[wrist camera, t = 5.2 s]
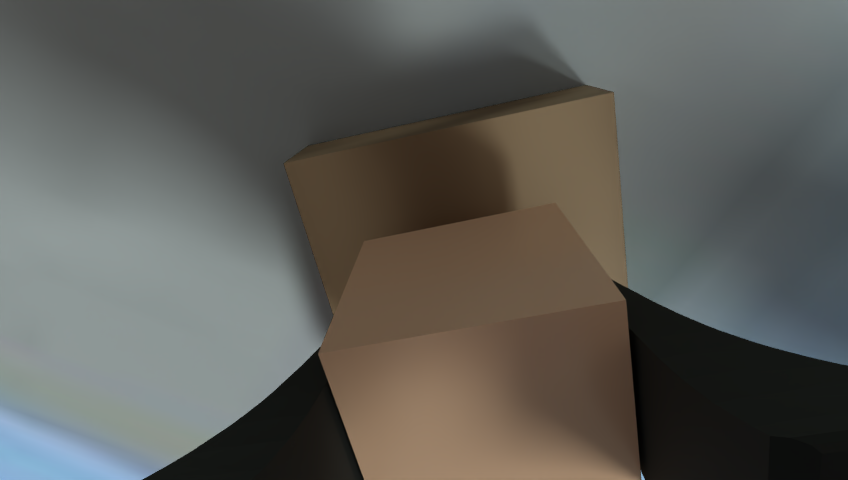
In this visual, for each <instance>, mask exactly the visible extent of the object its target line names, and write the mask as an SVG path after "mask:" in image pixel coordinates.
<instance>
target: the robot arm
mask: <svg viewBox="0 0 848 480" xmlns="http://www.w3.org/2000/svg"><path fill="white" fill-rule="evenodd" d="M611 280H612V279H611ZM612 281H613V283H614V284H615V285H616V287H617V288H618V289H619V291H620V292H621V294H622V295H623V296H624V298H625V299H626V305H627V317H628V329H629V341H630V352H631V364H632V376H633V388H634V400H635V411H636V423H637V435H638V447H639V459H640V470H641V472H642V474H643V476H644V478H645V480H848V366H847V365H841V364H837V363H832V362H828V361H823V360H819V359H814V358H810V357H806V356H802V355H798V354H795V353H791V352H787V351H783V350H779V349H775V348H772V347H768V346H765V345H762V344H758V343H755V342H752V341H749V340H746V339H743V338H740V337H737V336H734V335H731V334H728V333H725V332H722V331H719V330H717V329H714V328H712V327H709V326H706V325H704V324H701V323H699V322H697V321H694V320H692V319H690V318H687V317H685V316H683V315H680V314H678V313H676V312H674V311H672V310H670V309H668V308H665V307H663V306H661V305H659V304H657V303H655V302H653V301H651V300H649V299H647V298H645V297H643V296H642V295H640V294H638V293H636V292H634V291H632V290H630V289H628V288H627V287H625V286H623V285H621V284H619V283H617V282H616V281H614V280H612ZM320 348H321V347H320ZM320 348H319V349H318V350H317V351H316V352H315V353H314V354H313V355H312V356H311V357H310V358H309V359H308V360H307V361H306V362H305V363H304V364H303V365H302V366H301V367H300V368H299V369H298V370H296V371H295V372H294V373H293V374H292V375H291V376H290V377H289V378H288V379H287V380H286V381H285V382H283V383H282V384H281V385H280V386H279V387H278V388H277V389H276V390H275V391H274V392H273V393H271V394H270V395H269V396H268V397H267V398H265V399H264V400H263V401H262V402H261V403H259V404H258V405H257V406H256V407H254V408H253V409H252V410H250V411H249V412H248V413H247V414H245V415H244V416H243V417H241V418H240V419H239V420H237V421H236V422H235V423H233V424H232V425H230V426H229V427H228V428H226V429H225V430H223V431H222V432H220V433H219V434H217V435H216V436H214V437H213V438H211V439H210V440H208V441H207V442H205V443H204V444H202V445H200V446H199V447H197V448H196V449H194V450H193V451H191V452H190V453H188V454H186V455H185V456H183V457H181V458H180V459H178V460H176V461H175V462H173V463H171V464H170V465H168V466H166V467H164V468H163V469H161V470H159V471H157V472H155V473H154V474H152V475H150V476H148V477H146V478H144V479H143V480H364V478H363V475H362V473H361V470H360V467H359V464H358V462H357V459H356V456H355V453H354V451H353V448H352V445H351V442H350V440H349V437H348V434H347V432H346V429H345V426H344V423H343V421H342V418H341V415H340V412H339V410H338V407H337V404H336V402H335V399H334V396H333V393H332V391H331V388H330V385H329V382H328V380H327V377H326V374H325V371H324V369H323V366H322V363H321V361H320V358H319V355H318V353H319V350H320Z"/></svg>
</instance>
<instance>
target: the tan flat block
mask: <svg viewBox="0 0 848 480" xmlns="http://www.w3.org/2000/svg"><path fill="white" fill-rule="evenodd" d="M284 167H285V170H286V173H287V176H288V179H289V182H290V185H291V188H292V191H293V194H294V197H295V200H296V203H297V206H298V209H299V212H300V215H301V218H302V221H303V224H304V227H305V230H306V233H307V236H308V239H309V243H310V246H311V249H312V252H313V255H314V258H315V261H316V264H317V267H318V270H319V273H320V276H321V279H322V282H323V285H324V288H325V291H326V294H327V297H328V300H329V303H330V306H331V309H332V312H333V316H334V314H335V311H336V309H337V306H338V304H339V301H340V299H341V296H342V294H343V291H344V289H345V287H346V284H347V282H348V279H349V277H350V274H351V272H352V269H353V267H354V265H355V262H356V260H357V257H358V255H359V252H360V250H361V247H362V245H363V242H364V241H367V240H372V239H377V238H382V237H387V236H392V235H397V234H402V233H407V232H412V231H417V230H422V229H427V228H432V227H437V226H442V225H447V224H452V223H457V222H462V221H467V220H472V219H477V218H481V217H486V216H491V215H496V214H501V213H506V212H511V211H516V210H521V209H526V208H531V207H536V206H541V205H546V204H551V203H556V204H557V206H558V207H559V208H560V210H561V211H562V212H563V214H564V215H565V217H566V218H567V219H568V221H569V222H570V223H571V225H572V226H573V228H574V229H575V230H576V232H577V233H578V234H579V236H580V237H581V239H582V240H583V241H584V243H585V244H586V245H587V247H588V248H589V250H590V251H591V252H592V254H593V255H594V256H595V258H596V259H597V261H598V262H599V263H600V265H601V266H602V267H603V269H604V270H605V272H606V273H607V274H608V276H609V277H610V278H611V279H612V280H614V281H616V282H617V283H619V284H621V285H623V286H625V287H627V288H628V282H627V269H626V255H625V241H624V227H623V213H622V199H621V185H620V171H619V158H618V144H617V130H616V116H615V102H614V92H611V91H607V90H603V89H600V88H596V87H592V86H588V85H583V86H579V87H574V88H570V89H565V90H561V91H556V92H552V93H547V94H542V95H538V96H533V97H529V98H524V99H520V100H515V101H510V102H506V103H501V104H497V105H492V106H488V107H483V108H478V109H474V110H469V111H465V112H460V113H456V114H451V115H447V116H442V117H437V118H433V119H428V120H424V121H419V122H415V123H410V124H405V125H401V126H396V127H392V128H387V129H383V130H378V131H373V132H369V133H364V134H360V135H355V136H351V137H346V138H342V139H337V140H332V141H328V142H323V143H319V144H314V145H310V146H307V147H306V148H304V149H303V150H301V151H300V152H299V153H297V154H296V155H294V156H293V157H292V158H290V159H289V160H287V161H286V162H285V163H284Z"/></svg>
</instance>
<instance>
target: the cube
mask: <svg viewBox="0 0 848 480" xmlns="http://www.w3.org/2000/svg"><path fill="white" fill-rule="evenodd" d="M318 355H319V358H320V361H321V363H322V366H323V369H324V371H325V374H326V377H327V380H328V382H329V385H330V388H331V391H332V393H333V396H334V399H335V402H336V404H337V407H338V410H339V412H340V415H341V418H342V421H343V423H344V426H345V429H346V432H347V434H348V437H349V440H350V442H351V445H352V448H353V451H354V453H355V456H356V459H357V462H358V464H359V467H360V470H361V473H362V475H363V478H364V480H641V470H640V459H639V447H638V435H637V423H636V411H635V400H634V388H633V376H632V364H631V352H630V341H629V329H628V317H627V305H626V299H625V298H624V296H623V295H622V294H621V292H620V291H619V289H618V288H617V287H616V285H615V284H614V283H613V281H612V280H611V278H610V277H609V276H608V274H607V273H606V272H605V270H604V269H603V267H602V266H601V265H600V263H599V262H598V261H597V259H596V258H595V256H594V255H593V254H592V252H591V251H590V250H589V248H588V247H587V245H586V244H585V243H584V241H583V240H582V239H581V237H580V236H579V234H578V233H577V232H576V230H575V229H574V228H573V226H572V225H571V223H570V222H569V221H568V219H567V218H566V217H565V215H564V214H563V212H562V211H561V210H560V208H559V207H558V206H557V204H556V203H551V204H546V205H541V206H536V207H531V208H526V209H521V210H516V211H511V212H506V213H501V214H496V215H491V216H486V217H481V218H477V219H472V220H467V221H462V222H457V223H452V224H447V225H442V226H437V227H432V228H427V229H422V230H417V231H412V232H407V233H402V234H397V235H392V236H387V237H382V238H377V239H372V240H367V241H364V242H363V245H362V247H361V250H360V252H359V255H358V257H357V260H356V262H355V265H354V267H353V269H352V272H351V274H350V277H349V279H348V282H347V284H346V287H345V289H344V291H343V294H342V296H341V299H340V301H339V304H338V306H337V309H336V311H335V314H334V316H333V318H332V321H331V323H330V326H329V328H328V331H327V333H326V336H325V338H324V340H323V343H322V345H321V348H320V350H319V353H318Z"/></svg>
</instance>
